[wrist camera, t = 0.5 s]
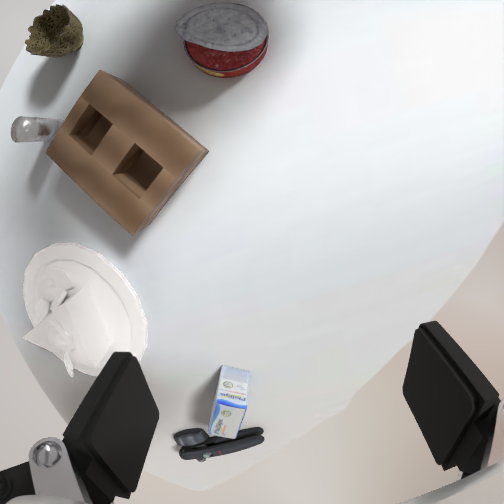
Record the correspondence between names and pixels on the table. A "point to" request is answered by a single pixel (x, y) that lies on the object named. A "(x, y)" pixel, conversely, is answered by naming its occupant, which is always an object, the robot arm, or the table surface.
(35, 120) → the pin
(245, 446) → the can opener
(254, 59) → the canned food
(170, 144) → the hole block
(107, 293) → the dish
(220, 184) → the table surface
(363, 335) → the table surface
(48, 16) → the cup
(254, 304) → the table surface
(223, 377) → the medicine box
